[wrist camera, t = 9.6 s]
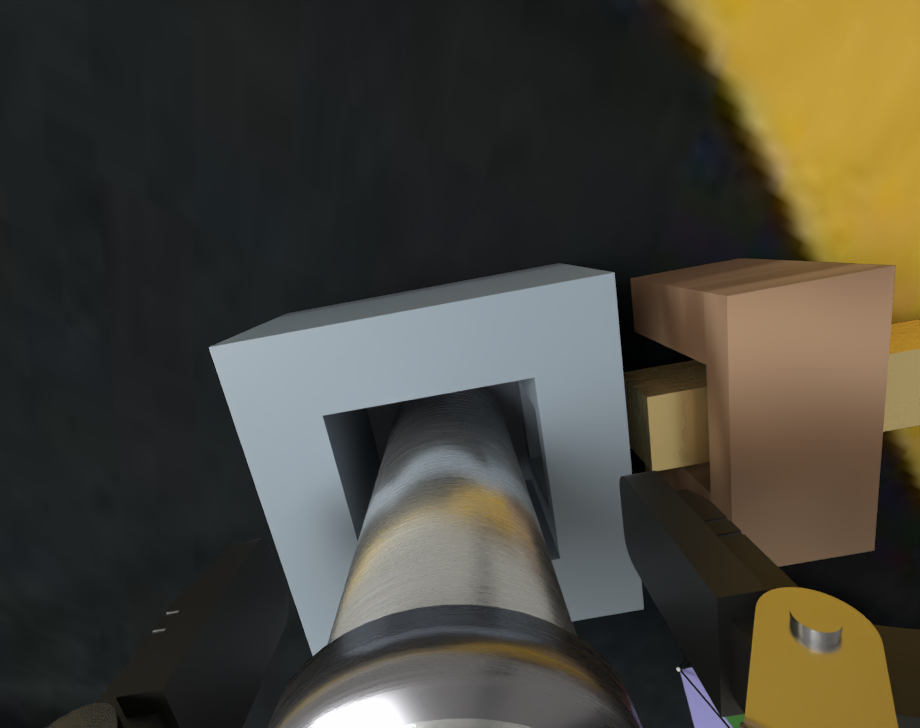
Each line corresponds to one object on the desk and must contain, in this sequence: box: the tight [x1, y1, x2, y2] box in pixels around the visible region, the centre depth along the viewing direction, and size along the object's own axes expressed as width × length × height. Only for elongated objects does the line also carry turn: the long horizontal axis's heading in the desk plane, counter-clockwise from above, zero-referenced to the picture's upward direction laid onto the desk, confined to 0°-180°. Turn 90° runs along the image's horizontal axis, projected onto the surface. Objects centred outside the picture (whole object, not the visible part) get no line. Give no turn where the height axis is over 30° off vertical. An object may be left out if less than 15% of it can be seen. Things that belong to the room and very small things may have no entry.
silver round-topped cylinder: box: [268, 387, 642, 728], centre depth 11 cm, size 5×5×12 cm
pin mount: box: [630, 258, 896, 567], centre depth 14 cm, size 8×4×6 cm, turn 10°
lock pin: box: [623, 319, 920, 471], centre depth 14 cm, size 3×12×3 cm, turn 100°
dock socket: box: [209, 263, 644, 656], centre depth 15 cm, size 10×10×6 cm
